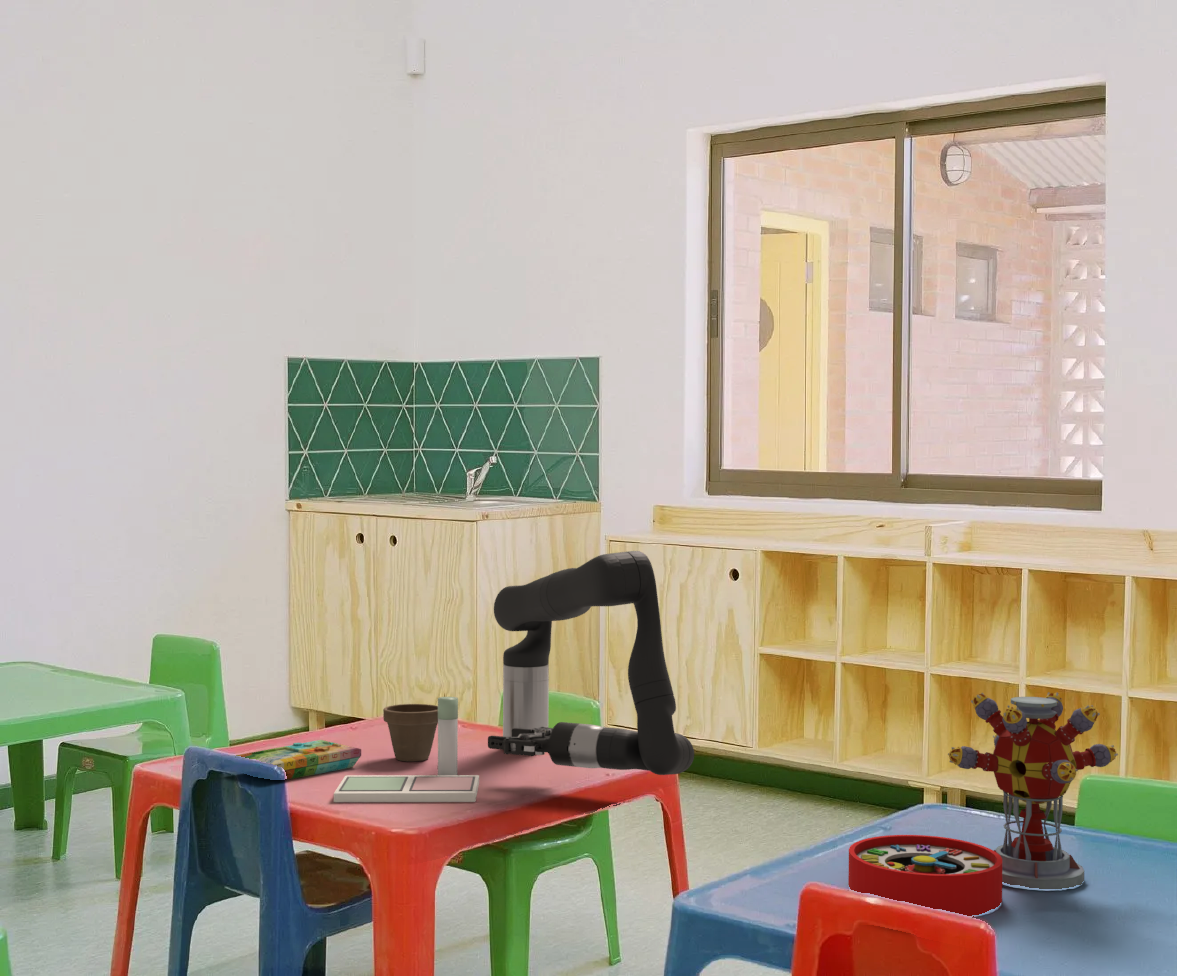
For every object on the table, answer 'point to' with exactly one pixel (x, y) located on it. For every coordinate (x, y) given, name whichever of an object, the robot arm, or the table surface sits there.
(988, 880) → the toy clock
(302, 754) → the puzzle game
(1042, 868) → the red knobbed tall piece
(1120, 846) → the table surface
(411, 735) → the flower pot
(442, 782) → the colouring board
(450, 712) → the green marker
